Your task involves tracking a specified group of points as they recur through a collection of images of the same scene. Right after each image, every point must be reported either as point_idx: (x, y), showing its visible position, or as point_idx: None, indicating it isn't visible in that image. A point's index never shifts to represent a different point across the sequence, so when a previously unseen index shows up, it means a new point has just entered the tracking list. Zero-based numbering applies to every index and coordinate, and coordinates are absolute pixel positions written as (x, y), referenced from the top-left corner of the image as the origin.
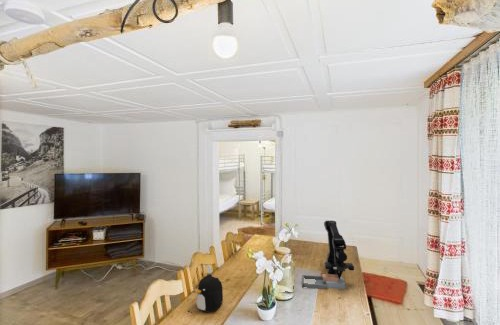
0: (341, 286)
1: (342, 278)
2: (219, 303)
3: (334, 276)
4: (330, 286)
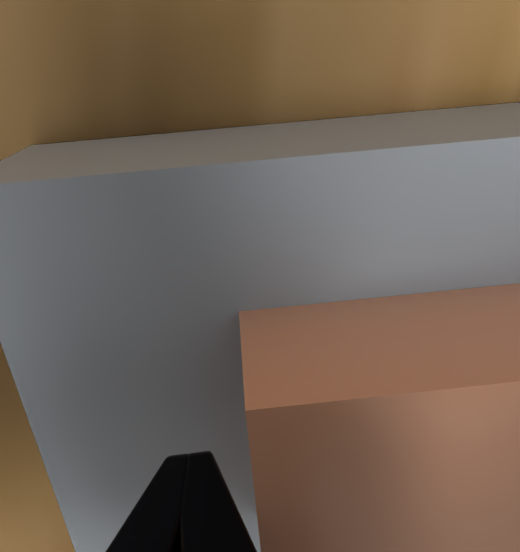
0: (136, 147)
1: (93, 540)
2: None
3: (409, 502)
4: (501, 112)
